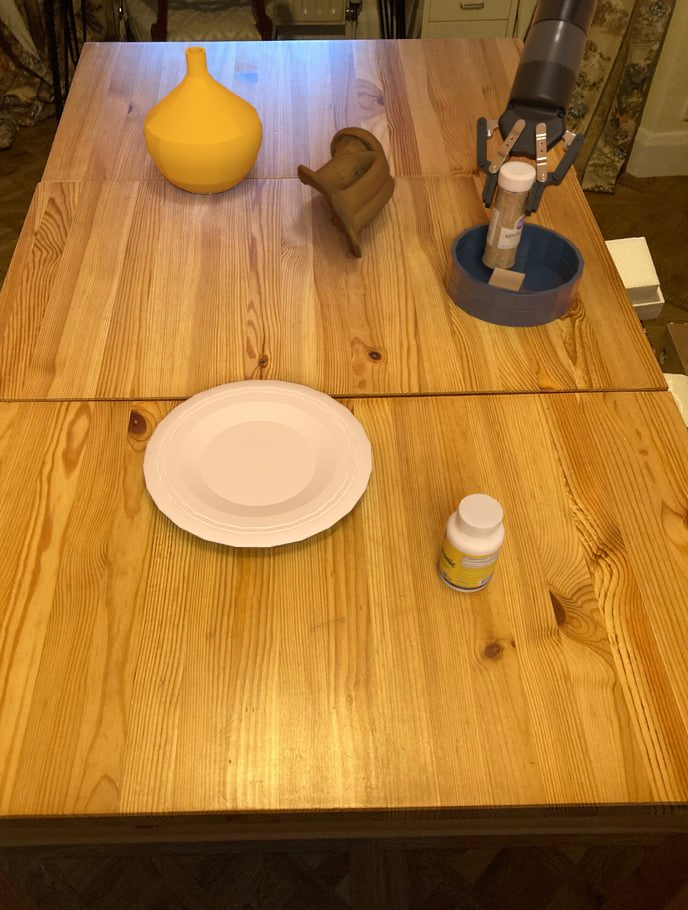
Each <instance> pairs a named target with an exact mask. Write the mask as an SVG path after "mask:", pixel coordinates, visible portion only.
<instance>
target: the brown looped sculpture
mask: <svg viewBox="0 0 688 910" xmlns="http://www.w3.org/2000/svg"><path fill="white" fill-rule="evenodd" d="M382 145H383V144H381V142H380V140H379V139H378V138H377V137H376V136H375V134H373V133H372V132H370V131H369V130H367V129H365V128H362V127H357V126H348V127H343V128H341V129H340V130H337V132H336V133H335V134H334V135H333V136H332V140H331V142H330V146H329V149H330V157H331V158H330V159H328V161H327V162H326V163H324V164H323V165H322V166H320V167H319V168H318V169H317V170H315V171H314V170H312V169H311V168H309V167H307V166H305V165H304V164H298V166H297V169H296V170H297V177H298V179H299V182H300V183H302V184H303V185H305V186H309V187H311V188H313V189H315V190H316V191H317V192H318V193H320V194H321V195H322V196H323V197H324V199H325V200H326V202H327V203H328V205H329V206H330V208H331V211H332V212H331V216H330V218H329V219H330V221H329V222H330V224H331V225H332V226H333V225H334V226H333V227H335V229H336V230H337V231H338V232H340V233H342V234H343V236H344V237H345V240H346V242H347V246H348V248H349V251H350V252H351V254H352V256H354V257H355V258H356V259H361V258H362V257H363V253H362V252H363V251H362V248H361V246H360V240H359V236H360V234H361V232H362V231H363V230H364V229H365V228H366V227H367V226H368V225H369V224H371V222H372V221H373V220H374V219H375V218H376V216H377V215H378V214H379V213H380V212H381V211H382V210H383V209H384V207H386V205H387V204H388V203H389V201H390V200H391V198H392V197H393V195H394V193H395V187H396V184H395V180H394V178H393V177H392V175H391V174H390V170H391V169H390V168H391V167H390V164H389V161H388V159H387V157H386V151H385V150H384V147H383V146H382Z"/></svg>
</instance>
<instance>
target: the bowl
mask: <svg viewBox="0 0 688 910" xmlns="http://www.w3.org/2000/svg"><path fill="white" fill-rule="evenodd" d="M489 224H490V221H486V222H480V223H477V224H474V225H473V226H470V227H467V228H465V229H463V230H462V231H461V232H460V233H459V234H458V235H457V236H456V237H454V239H453V240H452V243H451V245H450V249H449V253H448V259H447V265H446V271H445V277H444V285H445V289H446V294H447V295H448V297H449V299H450V300H451V301H452V302H453V303H454V304H455V305H456V306H457V307H458V308H459V309H460V310H462V311H463V312H465V314H468V315H469V316H472V317H473V318H476V319H477V320H480V321H483V322H486V323H489V324H492V325H497V326H501V327H508V328H531V327H538V326H543V325H546V324H550V323H553V322H554V321H556V320H558V319H560V318H561V317H563V316H565V315H566V314H567V313H568V311H569V310H570V308H571V307H572V306H573V305H574V302H575V298H576V295H577V293H578V290H579V286H580V283H581V280H582V277H583V274H584V270H585V269H584V268H585V260H584V257H583V254H582V251H581V250H580V249H579V248H578V247H577V246H576V244H575V243H573V241H571V239H569V238H568V237H566V236H564V235H562V234H561V233H560V232H557V231H556V230H554V229H552V228H549V227H546V226H543V225H539V224H538V223H533V222H527V221H524V223H523V228H522V232H521V236H520V241H519V243H518V246H517V251H516V255H515V263H514V265H513V266H512V267H511V268H509V269H506V270H509V271H513V272H518V273H522V274H525V277H524V281H523V285H522V289H521V292H516V291H510V290H505V289H500V288H496V287H493V286H491V285H488V282H489V280H490V278H491V276H492V274H493V272H494V269H492V268H489V267H487V266H486V265H485V264H484V263H483V260H482V257H483V255H484V252H485V247H486V242H487V234H488V229H489Z"/></svg>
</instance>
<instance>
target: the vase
mask: <svg viewBox="0 0 688 910" xmlns="http://www.w3.org/2000/svg"><path fill="white" fill-rule="evenodd" d="M184 54H185V63H186V73H185V75H184V77H183V78H182V80H181V81H180V82H179V83H178V84H177V85H176V86H175V87H174V88H173V89H172V90H171V91H170V92H169V93H168V94H167V95H165V96H164V97H163V98H162V99H161V100H160V101H159V102H157V103H156V104H154V106H153V107H151V109H150V110H148V112H147V113H146V116H145V118H144V122H143V128H142V131H143V137H144V142H145V148H146V152H147V153H148V155H149V157H150V158H151V160H152V162H153V163H154V165H155V167H156V168H157V170H158V171H159V172H160V174H162V175H163V176H164V177H165V178H166V179H167V180H168V181H169V182H170V183H171V184H172V185H174V186H176V187H177V188H179V189H181V190H183V189H184V190H183V191H185V190H186V191H185V192H188V191H189V193H191V192H194V193H193V194H195V193H202V194H201V195H210V194H209V193H217V194H219V193H218V192H221V191H224V192H226V191H225V190H227V191H228V189H229V190H231V189H233V188H234V187H235V186H237V185H238V184H239V183H241V182H242V181H243V180H244V179H245V178H246V177H247V175H248V174H249V172H250V171H251V170H252V168H253V167H254V166H255V164H256V162H257V159H258V156H259V153H260V150H261V147H262V144H263V123H262V121H261V118H260V116H259V114H258V111H257V109H256V107H254V105H252V104H251V103H250V102H248V101H247V100H245V99H244V98H242V97H241V96H239V95H237V94H236V93H235V92H233V91H232V90H230V89H228V87H226V86H225V85H223V84H221V83H220V81H217V80H216V79H215V78H214V77H213V76H212V74H211V73H209V70H208V63H207V52H206V48H205V47H203V46H196V45H195V46H189V47H187V48H186V49H185V50H184ZM230 188H231V189H230ZM203 193H205V194H203ZM221 193H222V192H221Z"/></svg>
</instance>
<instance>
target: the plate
mask: <svg viewBox="0 0 688 910" xmlns="http://www.w3.org/2000/svg"><path fill="white" fill-rule="evenodd" d="M370 442H371V441H370V440H369V438H368V435H367V434H366V431H365V429H364V426H363V424H362V423H361V422H360V421H359V420H358V419H357V418H356V416H354V415H353V413H352V412H351V411H350V409H348V408H347V407H346V406H344V405H343V404H342V403H340V402H339V401H337V400H336V399H334V398H333V397H332V396H331V395H329V394H326V393H324V392H322V391H319V390H317V389H314V388H312V387H310V386H307V385H304V384H301V383H294V382H290V381H284V380H279V379H246V380H240V381H234V382H229V383H222V384H219V385H217V386H214V387H211V388H208V389H206V390H203V391H200V392H197V393H196V394H194V395H193V396H191V397H189V398H187V399H186V400H185V401H183V402H181V403H180V404H178V405H176V406H175V407H174V408H172V410H171V411H170V412H168V414H167V415H166V416H164V418H163V419H161V421H160V422H159V423H158V424H157V425H156V427H155V429H154V430H153V433H152V435H151V436H150V438H149V439H148V442H147V443H146V446H145V447H146V448H145V452H144V458H143V463H142V469H143V474H144V480H145V486H146V490H147V493H148V494H149V496H150V497H151V499H152V500H153V502H154V504H155V505H156V507H157V509H158V510H159V512H161V513H162V514H163V515H164V516H165V517H166V518H167V519H168V520H170V521H171V522H172V523H173V524H174V525H175V526H176V527H177V528H179V529H181V530H182V531H185V532H187V533H189V534H190V535H193V536H195V537H197V538H198V539H200V540H203V541H205V542H209V543H214V544H217V545H222V546H226V547H231V548H236V549H272V548H276V547H282V546H285V545H291V544H296V543H301V542H303V541H305V540H308V539H309V538H311V537H315V536H316V535H319V534H321V533H323V532H325V531H328V530H329V529H330V528H332V527H334V526H335V525H336V524H337V523H338V522H340V520H342V519H343V518H344V517H346V516H347V515H348V514H349V513H351V512H352V511H353V509H354V508H355V506H356V505H357V504H358V502H359V501H360V500H361V498H362V496H364V493H365V492H366V491H367V487H368V484H369V481H370V477H371V475H372V470H373V457H372V445H371V443H370Z"/></svg>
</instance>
